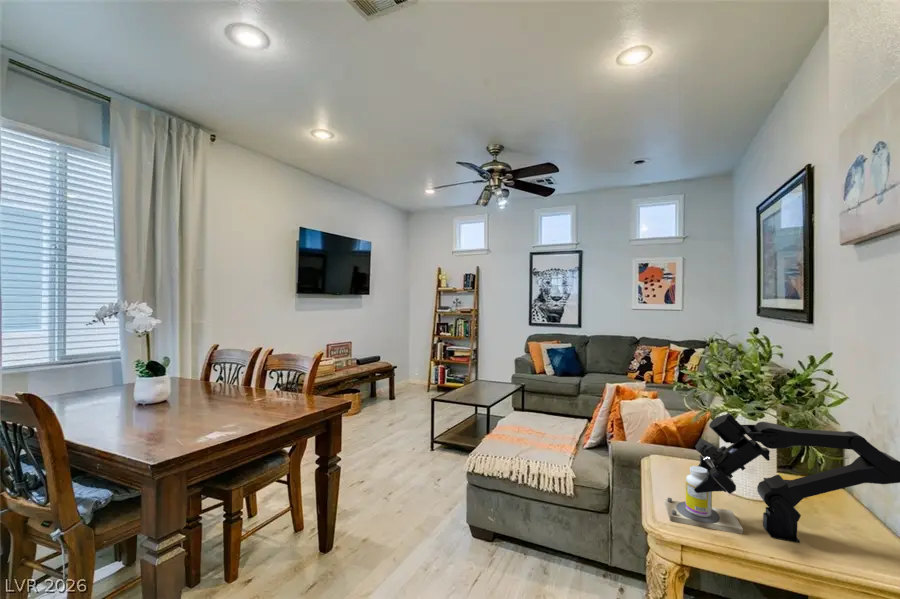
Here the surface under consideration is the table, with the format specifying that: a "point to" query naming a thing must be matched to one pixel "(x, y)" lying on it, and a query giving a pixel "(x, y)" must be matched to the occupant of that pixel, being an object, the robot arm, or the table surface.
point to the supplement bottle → (697, 501)
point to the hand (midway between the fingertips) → (692, 485)
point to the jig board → (716, 520)
